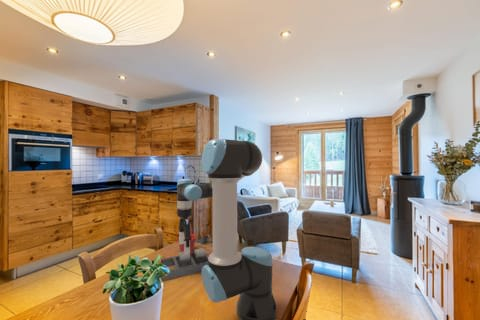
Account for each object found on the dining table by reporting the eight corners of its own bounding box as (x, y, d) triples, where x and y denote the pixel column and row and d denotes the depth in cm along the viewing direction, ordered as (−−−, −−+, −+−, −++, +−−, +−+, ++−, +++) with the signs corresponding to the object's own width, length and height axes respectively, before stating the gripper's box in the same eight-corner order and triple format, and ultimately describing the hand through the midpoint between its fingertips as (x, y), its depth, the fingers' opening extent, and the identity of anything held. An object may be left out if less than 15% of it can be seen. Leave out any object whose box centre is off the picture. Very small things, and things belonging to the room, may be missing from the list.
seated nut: (205, 266, 114) (205, 251, 114) (196, 268, 112) (196, 253, 112) (202, 262, 118) (203, 248, 118) (194, 264, 116) (194, 249, 116)
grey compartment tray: (212, 269, 110) (212, 261, 110) (158, 282, 98) (158, 273, 98) (204, 257, 124) (204, 250, 124) (155, 267, 112) (155, 260, 112)
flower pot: (175, 256, 125) (175, 240, 125) (181, 248, 136) (181, 233, 136) (193, 256, 125) (193, 240, 125) (197, 248, 136) (197, 233, 136)
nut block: (189, 269, 110) (189, 254, 110) (180, 271, 108) (180, 256, 108) (187, 265, 114) (187, 250, 114) (178, 267, 112) (178, 252, 112)
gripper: (197, 212, 102) (197, 256, 101) (186, 203, 124) (186, 239, 124) (181, 213, 98) (181, 259, 98) (173, 204, 121) (173, 241, 120)
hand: (184, 248), depth 111 cm, fingers open, 13 cm apart
